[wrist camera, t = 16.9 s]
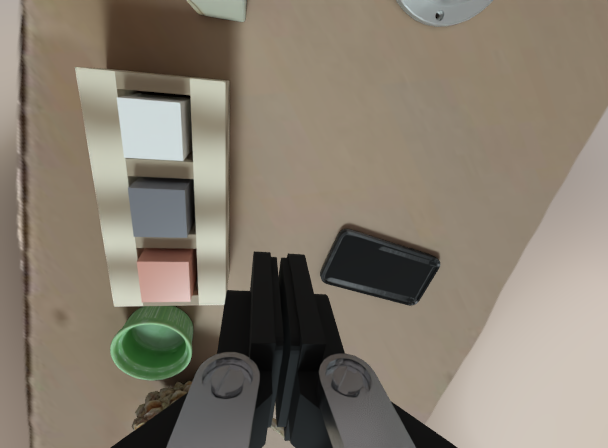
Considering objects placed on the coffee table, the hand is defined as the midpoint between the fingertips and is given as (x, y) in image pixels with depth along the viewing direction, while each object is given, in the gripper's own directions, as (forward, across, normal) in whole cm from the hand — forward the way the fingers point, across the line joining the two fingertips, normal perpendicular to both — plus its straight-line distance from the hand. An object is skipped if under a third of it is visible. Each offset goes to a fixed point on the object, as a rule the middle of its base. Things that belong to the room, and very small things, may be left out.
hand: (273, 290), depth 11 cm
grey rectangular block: (+24, +9, +6) cm, 26 cm away
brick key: (+24, +8, +13) cm, 28 cm away
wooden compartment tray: (+26, +9, +6) cm, 28 cm away
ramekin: (+26, +11, +25) cm, 38 cm away
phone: (+27, -17, +15) cm, 35 cm away
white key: (+24, +9, -1) cm, 26 cm away
